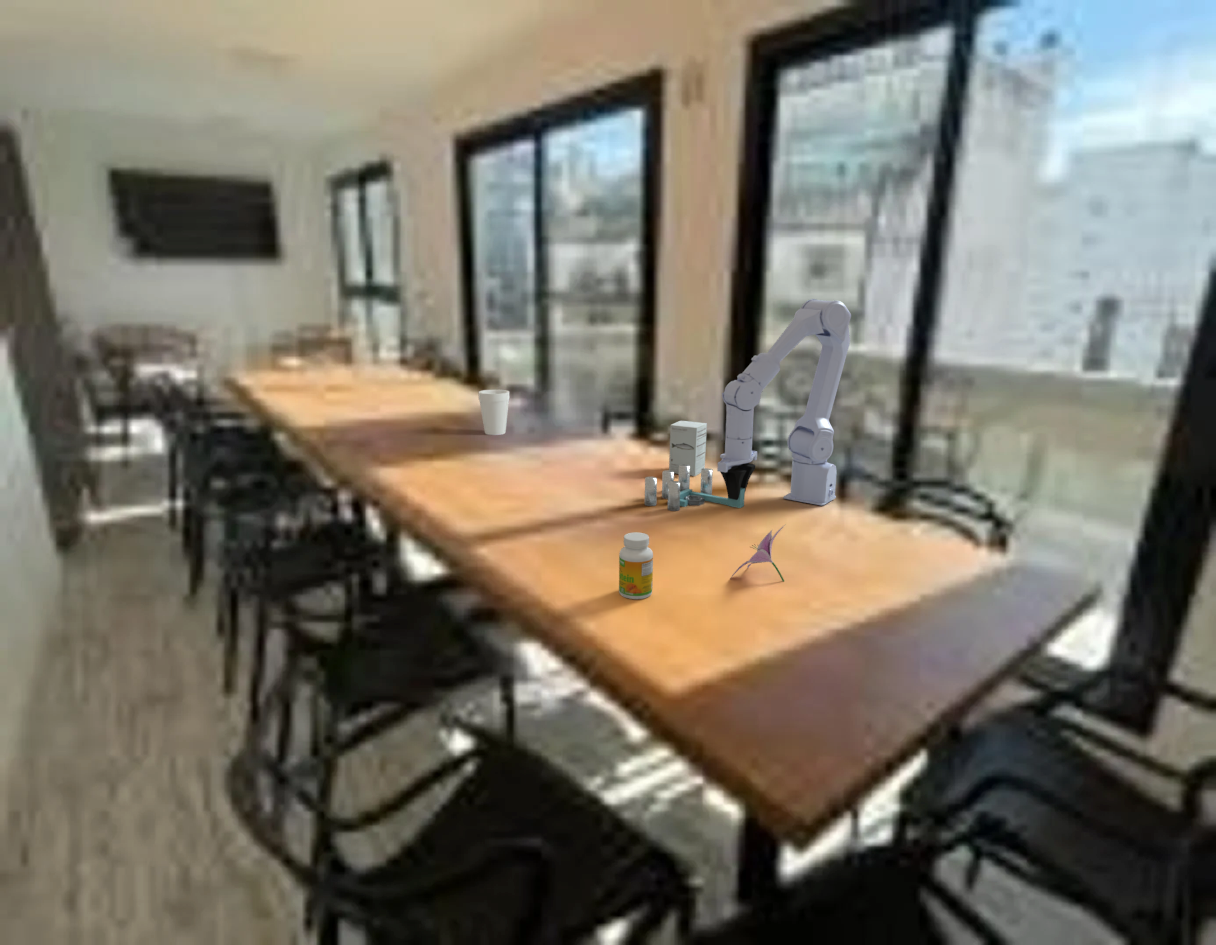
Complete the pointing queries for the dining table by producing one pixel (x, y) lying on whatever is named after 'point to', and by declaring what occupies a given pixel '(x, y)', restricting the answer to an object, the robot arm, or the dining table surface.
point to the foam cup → (494, 410)
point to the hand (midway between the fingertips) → (736, 497)
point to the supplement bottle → (635, 567)
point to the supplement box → (687, 446)
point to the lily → (763, 552)
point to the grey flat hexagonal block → (695, 500)
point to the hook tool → (713, 498)
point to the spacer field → (675, 486)
